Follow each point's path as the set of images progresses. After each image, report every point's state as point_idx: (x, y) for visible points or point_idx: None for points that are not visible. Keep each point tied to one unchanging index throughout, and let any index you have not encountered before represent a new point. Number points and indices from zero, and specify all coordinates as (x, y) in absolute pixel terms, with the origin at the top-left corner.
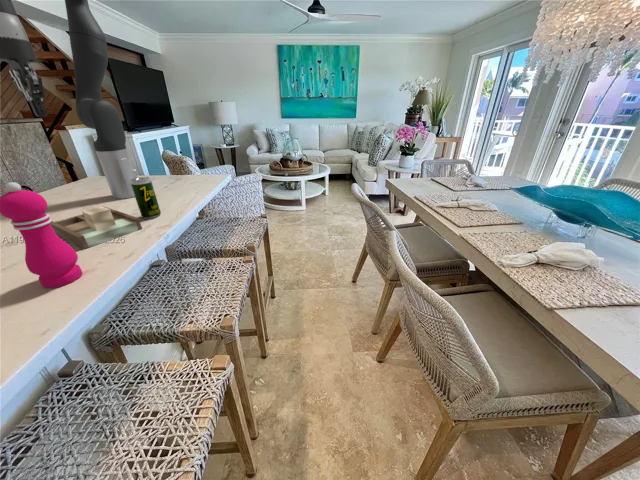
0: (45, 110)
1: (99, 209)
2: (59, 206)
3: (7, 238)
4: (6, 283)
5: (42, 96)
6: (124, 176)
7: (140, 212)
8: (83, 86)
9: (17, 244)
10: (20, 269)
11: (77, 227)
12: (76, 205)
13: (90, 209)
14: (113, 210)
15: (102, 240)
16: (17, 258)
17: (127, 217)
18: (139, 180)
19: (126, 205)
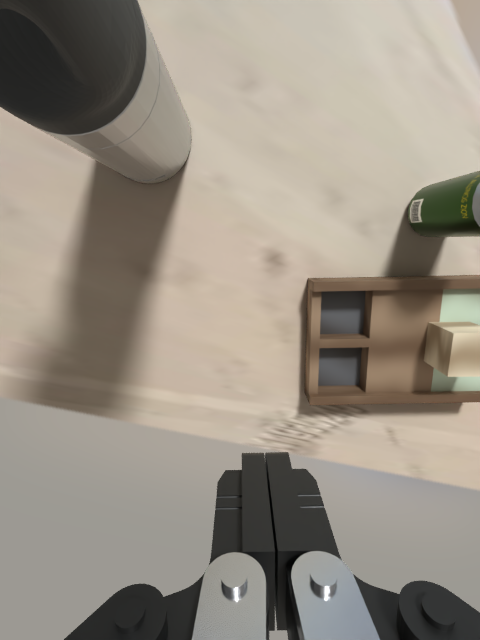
0: (296, 481)
1: (475, 347)
2: (95, 314)
3: (262, 445)
4: (474, 488)
5: (460, 614)
6: (176, 115)
7: (430, 235)
8: None
9: (317, 443)
10: (443, 467)
11: (399, 374)
12: (126, 283)
13: (452, 359)
14: (383, 284)
15: None
16: (391, 459)
17: (466, 288)
18: None
19: (262, 200)
